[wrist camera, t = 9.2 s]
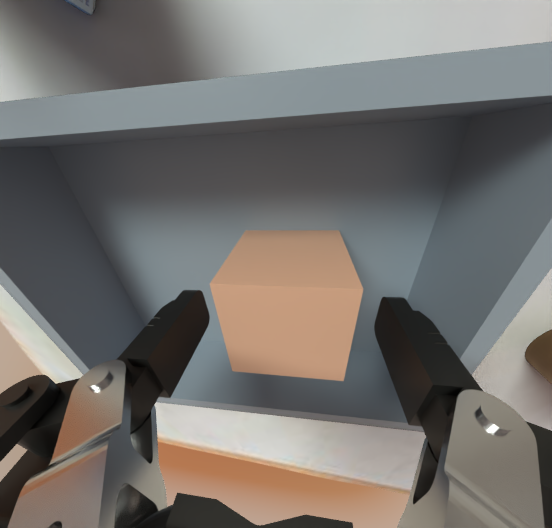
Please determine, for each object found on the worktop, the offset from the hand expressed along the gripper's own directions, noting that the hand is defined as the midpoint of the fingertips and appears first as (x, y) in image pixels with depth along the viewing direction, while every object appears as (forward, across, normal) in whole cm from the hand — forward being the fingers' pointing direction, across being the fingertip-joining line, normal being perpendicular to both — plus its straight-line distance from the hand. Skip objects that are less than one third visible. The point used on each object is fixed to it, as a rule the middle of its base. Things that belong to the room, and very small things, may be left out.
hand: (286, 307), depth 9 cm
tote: (+4, +2, 0) cm, 5 cm away
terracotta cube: (+3, 0, 0) cm, 3 cm away
